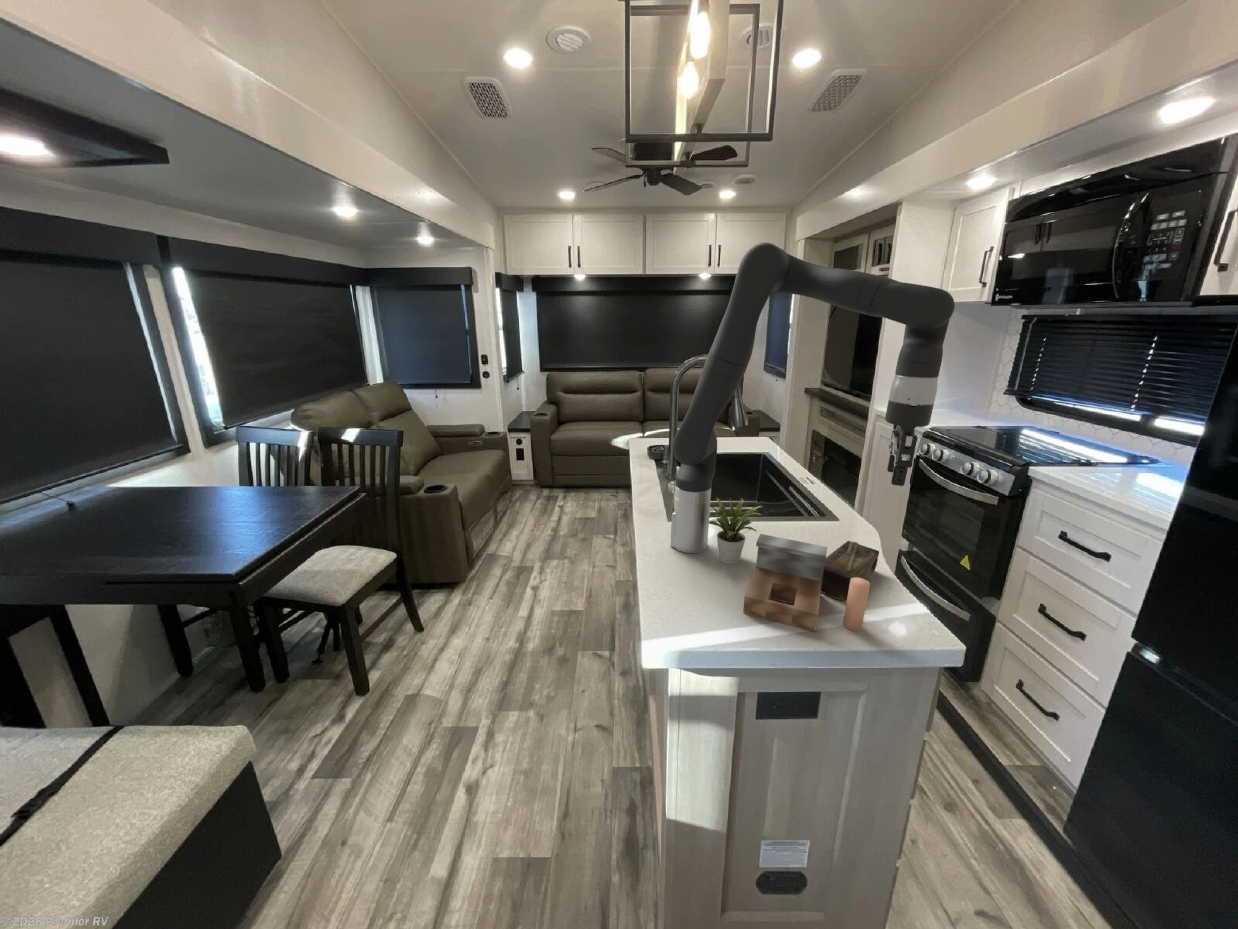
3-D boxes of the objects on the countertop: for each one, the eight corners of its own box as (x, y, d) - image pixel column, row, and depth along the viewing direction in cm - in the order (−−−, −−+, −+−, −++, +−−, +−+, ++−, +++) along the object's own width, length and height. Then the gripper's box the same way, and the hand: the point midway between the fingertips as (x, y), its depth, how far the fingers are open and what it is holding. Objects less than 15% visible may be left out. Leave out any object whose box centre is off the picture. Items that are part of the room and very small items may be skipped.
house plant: (762, 578, 107) (769, 515, 102) (703, 572, 110) (707, 510, 105) (757, 550, 120) (763, 492, 115) (704, 545, 123) (708, 488, 118)
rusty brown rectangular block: (877, 572, 110) (881, 548, 108) (846, 605, 98) (851, 578, 96) (843, 560, 116) (847, 537, 114) (810, 590, 103) (814, 564, 101)
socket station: (742, 612, 95) (748, 561, 91) (755, 579, 107) (760, 533, 103) (815, 632, 89) (823, 578, 85) (819, 595, 101) (827, 546, 97)
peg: (842, 628, 90) (850, 584, 87) (842, 618, 93) (850, 575, 90) (861, 633, 89) (870, 588, 86) (861, 623, 92) (869, 580, 88)
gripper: (885, 392, 95) (871, 466, 100) (892, 403, 83) (876, 486, 88) (927, 395, 92) (911, 470, 97) (941, 407, 80) (922, 493, 85)
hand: (894, 478), depth 92 cm, fingers open, 8 cm apart
